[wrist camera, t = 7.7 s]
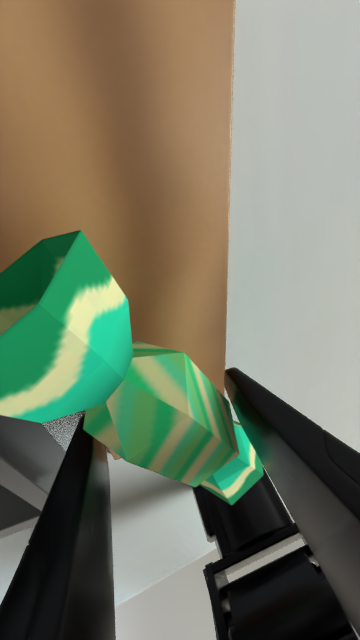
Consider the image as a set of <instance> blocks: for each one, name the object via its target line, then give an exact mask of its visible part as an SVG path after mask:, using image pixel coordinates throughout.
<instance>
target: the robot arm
mask: <svg viewBox="0 0 360 640" xmlns="http://www.w3.org/2000/svg"><path fill="white" fill-rule="evenodd" d="M224 386H225V389H226V391H227V394H228V396H229V398H230V401H231V403H232V406H233V408H234V410H235V413H236V415H237V417H238V420H239V422H240V424H241V426H242V428H243V430H244V432H245V434H246V436H247V437H248V439H249V441H250V443H251V444H252V446H253V448H254V450H255V452H256V453H257V455H258V457H259V459H260V461H261V462H262V464H263V465H262V466H264V467H263V473H264V475H263V476H262V477H261V478H260V479H259V480H258V481H257V482H256V483H255V484H254V485H253V486H252V487H251V488H250V489H249V490H248V491H247V492H246V493H245V494H243V495H242V496H241V497H240V498H239V499H238V500H237V501H236V502H235V503H234V504H233V505H230V504H229V503H227V502H226V501H224V500H223V499H221V498H219V497H218V496H216V495H215V494H213V493H212V492H210V491H208V490H207V489H205V488H204V487H202V486H201V485H198V486H197V487H193V486H192V490H193V495H194V498H195V501H196V504H197V508H198V511H199V514H200V518H201V521H202V524H203V527H204V531H205V534H206V537H207V541H209V542H210V543H211V542H213V541H215V543H216V546H217V549H218V553H219V555H220V560H218V561H217V562H214V563H212V562H211V563H209V564H207V565H206V566H205V567H206V568H205V569H204V570H203V573H204V576H205V580H206V584H207V587H208V591H209V595H210V600H211V605H212V612H213V618H214V625H215V631H216V638H217V640H360V453H359V452H357V451H355V450H354V449H352V448H351V447H349V446H348V445H346V444H345V443H343V442H342V441H340V440H339V439H337V438H336V437H334V436H333V435H331V434H330V433H329V432H327V431H326V430H323V429H322V428H321V427H320V426H318V425H317V424H316V423H314V422H313V421H311V420H310V419H308V418H307V417H306V416H304V415H303V414H301V413H300V412H299V411H297V410H296V409H294V408H293V407H291V406H290V405H289V404H287V403H286V402H284V401H283V400H281V399H280V398H279V397H277V396H276V395H274V394H273V393H271V392H270V391H269V390H267V389H266V388H264V387H263V386H261V385H260V384H259V383H257V382H256V381H254V380H253V379H251V378H250V377H249V376H247V375H246V374H244V373H243V372H241V371H240V370H239V369H237V368H235V367H233V368H230V369H227V370H225V372H224ZM84 419H85V415H83V416H82V417H81V418H80V420H79V423H78V425H77V428H76V430H75V432H74V435H73V437H72V439H71V442H70V444H69V447H68V449H67V451H66V454H65V456H64V459H63V461H62V463H61V466H60V468H59V470H58V473H57V475H56V478H55V480H54V482H53V485H52V487H51V489H50V492H49V494H48V497H47V499H46V501H45V504H44V506H43V509H42V511H41V513H40V516H39V518H38V520H37V523H36V525H35V528H34V530H33V532H32V535H31V537H30V539H29V542H28V543H29V545H27V546H26V549H25V551H24V553H23V556H22V558H21V561H20V563H19V565H18V568H17V570H16V572H15V574H14V577H13V579H12V581H11V583H10V586H9V588H8V590H7V592H6V595H5V597H4V599H3V601H2V603H1V605H0V640H116V636H115V609H114V582H113V555H112V528H111V502H110V478H109V468H108V461H107V455H106V448H105V445H104V444H102V443H101V442H100V441H98V440H97V439H96V438H94V437H93V436H92V435H90V434H89V433H87V432H86V431H85V430H83V427H84ZM264 468H265V469H266V471H267V473H268V475H269V477H270V478H271V480H272V482H273V484H274V485H275V487H276V489H277V491H278V493H279V494H280V496H281V498H282V500H283V502H284V503H285V505H286V507H287V509H288V510H289V512H290V514H291V516H292V517H293V519H294V521H295V523H293V522H292V520H291V518H290V516H289V514H288V513H287V511H286V509H285V507H284V505H283V503H282V501H281V499H280V497H279V495H278V494H277V492H276V490H275V488H274V486H273V484H272V482H271V480H270V479H269V477H268V475H267V473H266V471H265V469H264ZM301 538H302V539H303V541H304V543H305V545H304V546H302V547H300V548H298V549H296V550H294V551H292V552H290V553H288V554H286V555H284V556H282V557H280V558H278V559H276V560H274V561H272V562H270V563H268V564H266V565H264V566H262V567H260V568H258V569H256V570H254V571H252V572H250V573H248V574H246V575H244V576H242V577H240V578H238V579H236V580H234V581H232V582H230V583H229V582H228V579H227V575H229V574H231V573H233V572H235V571H237V570H239V569H241V568H243V567H245V566H247V565H249V564H251V563H253V562H255V561H257V560H259V559H261V558H263V557H265V556H267V555H269V554H271V553H273V552H275V551H277V550H279V549H281V548H283V547H284V546H287V545H289V544H291V543H293V542H295V541H297V540H299V539H301ZM312 562H315V564H316V565H317V566H316V565H315V564H313V563H312Z"/></svg>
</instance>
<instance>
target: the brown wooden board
mask: <svg viewBox="0 0 360 640" xmlns="http://www.w3.org/2000/svg"><path fill="white" fill-rule="evenodd" d="M234 22H235V0H0V273H1V272H3V271H4V270H5V269H6V268H7V267H9V266H10V265H11V264H12V263H14V262H15V261H16V260H17V259H18V258H20V257H21V256H22V255H23V254H24V253H26V252H27V251H28V250H29V249H31V248H32V247H33V246H34V245H35V244H37V243H38V242H39V241H40V240H42V239H46V238H50V237H54V236H58V235H62V234H66V233H70V232H74V231H78V230H81V231H82V232H83V234H84V235H85V237H86V238H87V240H88V241H89V243H90V244H91V245H92V247H93V248H94V250H95V251H96V253H97V254H98V256H99V257H100V259H101V260H102V262H103V263H104V265H105V266H106V268H107V269H108V271H109V272H110V274H111V275H112V277H113V278H114V280H115V281H116V283H117V284H118V286H119V287H120V289H121V290H122V292H123V293H124V294H125V296H126V297H127V299H128V305H129V315H130V325H131V335H132V344H133V343H135V342H137V341H138V342H142V343H147V344H151V345H155V346H159V347H163V348H167V349H172V350H176V351H180V352H184V353H185V354H186V355H187V356H188V357H189V358H190V359H191V361H192V362H193V363H194V364H195V365H196V366H197V367H198V368H199V369H200V371H201V372H202V373H203V374H204V375H205V376H206V377H207V378H208V379H209V381H210V382H211V383H212V384H213V385H214V386H215V387H216V388H217V389H218V390H219V392H220V393H221V394H222V395H223V396H224V387H225V386H224V372H225V351H226V314H227V278H228V241H229V205H230V168H231V131H232V95H233V58H234ZM85 411H86V410H85ZM107 448H108V447H107ZM108 449H109V448H108ZM109 451H110V452H111V454H112V456H113V457H114V459H115V460H118V459H120V458H121V457H120V456H119V455H117V454H116V453H115V452H113V451H112V450H111V449H109Z"/></svg>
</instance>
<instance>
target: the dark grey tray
mask: <svg viewBox="0 0 360 640" xmlns="http://www.w3.org/2000/svg"><path fill="white" fill-rule="evenodd" d="M65 454H66V452H65V451H64V450H63V448H62V447H61V446H60V445H59V444H58V443H57V442H56V440H55V439H54V438H53V437H52V436H51V435H50V434H49V432H48V431H47V430H46V429H45V428H44V427H43V426H42V424H41V423H38V422H33V421H28V420H23V419H18V418H13V417H8V416H3V415H0V538H3V537H5V536H8V535H10V534H13V533H16V532H18V531H21V530H24V529H26V528H29V527H32V526H34V525H36V523H37V520H38V518H39V516H40V513H41V511H42V509H43V506H44V504H45V501H46V499H47V497H48V494H49V492H50V489H51V487H52V485H53V482H54V480H55V478H56V475H57V473H58V470H59V468H60V466H61V463H62V461H63V459H64V456H65Z"/></svg>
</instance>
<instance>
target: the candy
mask: <svg viewBox="0 0 360 640" xmlns="http://www.w3.org/2000/svg"><path fill="white" fill-rule="evenodd" d="M84 410H86V411H85V419H84V427H83V430H85V431H86V432H87V433H89V434H90V435H92V436H93V437H94V438H96V439H97V440H98V441H100V442H101V443H102V444H104V445H105V446H106V447H108V448H109V449H111V450H112V451H113V452H115V453H116V454H117V455H119V456H120V457H121V458H123V459H124V460H125V461H127V462H129V463H132V464H134V465H137V466H140V467H142V468H145V469H148V470H150V471H153V472H156V473H158V474H161V475H164V476H166V477H169V478H172V479H174V480H177V481H180V482H182V483H185V484H187V485H190V486H193V487H197V486H198V485H201V486H202V487H204V488H205V489H207V490H208V491H210V492H212V493H213V494H215V495H216V496H218V497H219V498H221V499H223V500H224V501H226V502H227V503H229V504H230V505H233V504H234V503H235V502H236V501H237V500H238V499H239V498H240V497H241V496H242V495H243V494H245V493H246V492H247V491H248V490H249V489H250V488H251V487H252V486H253V485H254V484H255V483H256V482H257V481H258V480H259V479H260V478H261V477H262V476H263V475H264V473H263V466H262V462H261V461H260V459H259V457H258V455H257V453H256V452H255V450H254V448H253V446H252V444H251V443H250V441H249V439H248V437H247V436H246V434H245V432H244V430H243V428H242V426H241V424H240V423H238V422H236V421H233V419H232V414H231V409H230V404H229V402H228V400H227V399H226V398H225V397H224V396H223V395H222V394H221V393H220V392H219V390H218V389H217V388H216V387H215V386H214V385H213V384H212V383H211V382H210V381H209V379H208V378H207V377H206V376H205V375H204V374H203V373H202V372H201V371H200V369H199V368H198V367H197V366H196V365H195V364H194V363H193V362H192V361H191V359H190V358H189V357H188V356H187V355H186V354H185V353H184V352H180V351H176V350H172V349H167V348H163V347H159V346H155V345H151V344H147V343H142V342H138V341H137V342H135V343H133V344H132V335H131V325H130V315H129V305H128V299H127V297H126V296H125V294H124V293H123V292H122V290H121V289H120V287H119V286H118V284H117V283H116V281H115V280H114V278H113V277H112V275H111V274H110V272H109V271H108V269H107V268H106V266H105V265H104V263H103V262H102V260H101V259H100V257H99V256H98V254H97V253H96V251H95V250H94V248H93V247H92V245H91V244H90V243H89V241H88V240H87V238H86V237H85V235H84V234H83V232H82V231H81V230H78V231H74V232H70V233H66V234H62V235H58V236H54V237H50V238H46V239H42V240H40V241H39V242H38V243H37V244H35V245H34V246H33V247H32V248H31V249H29V250H28V251H27V252H26V253H24V254H23V255H22V256H21V257H20V258H18V259H17V260H16V261H15V262H14V263H12V264H11V265H10V266H9V267H7V268H6V269H5V270H4V271H3V272H1V273H0V415H3V416H8V417H13V418H18V419H23V420H28V421H33V422H38V423H45V422H48V421H51V420H55V419H58V418H61V417H64V416H68V415H71V414H74V413H77V412H80V411H84Z"/></svg>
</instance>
